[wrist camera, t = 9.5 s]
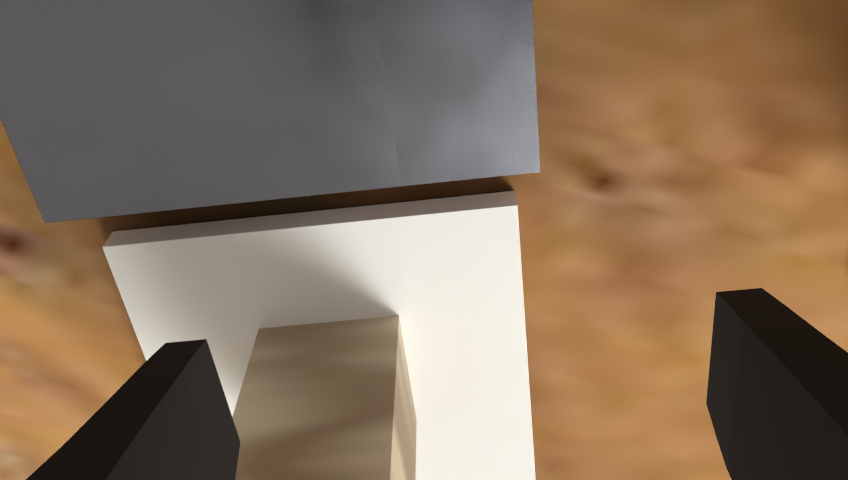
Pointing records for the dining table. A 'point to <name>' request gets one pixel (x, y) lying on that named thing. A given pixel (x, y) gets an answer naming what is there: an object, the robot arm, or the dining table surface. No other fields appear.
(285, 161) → the hole plate
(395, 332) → the birch peg
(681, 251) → the dining table surface
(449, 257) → the white tile
